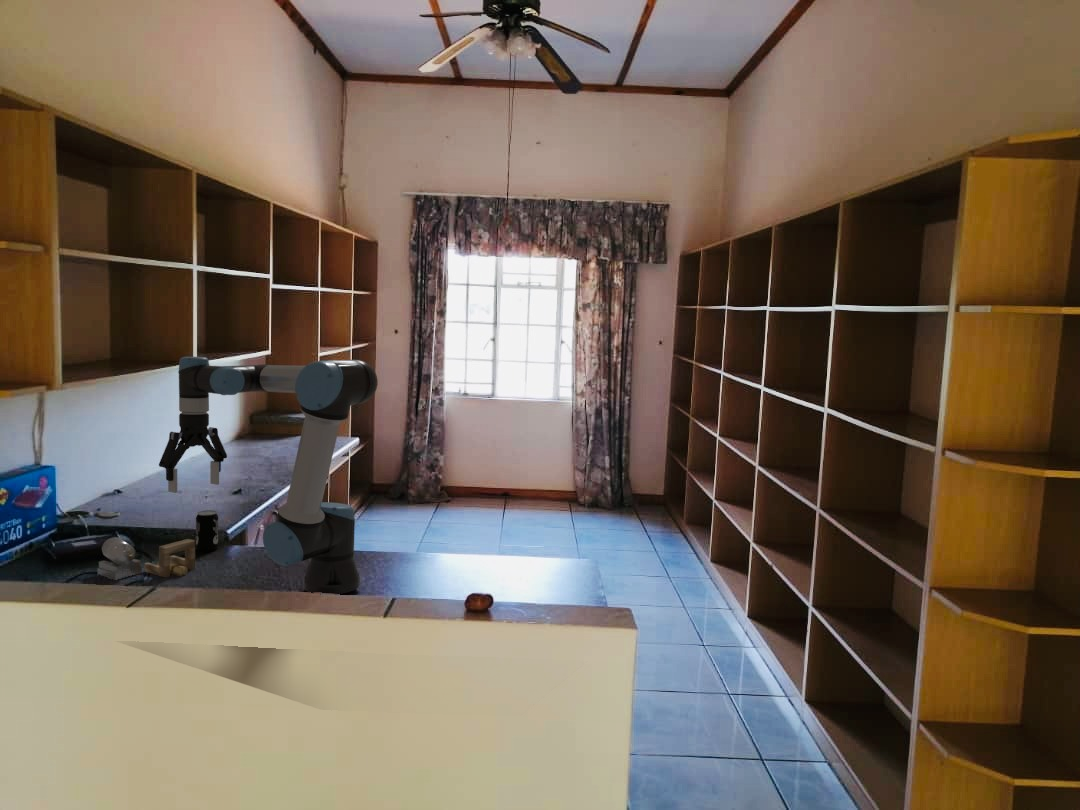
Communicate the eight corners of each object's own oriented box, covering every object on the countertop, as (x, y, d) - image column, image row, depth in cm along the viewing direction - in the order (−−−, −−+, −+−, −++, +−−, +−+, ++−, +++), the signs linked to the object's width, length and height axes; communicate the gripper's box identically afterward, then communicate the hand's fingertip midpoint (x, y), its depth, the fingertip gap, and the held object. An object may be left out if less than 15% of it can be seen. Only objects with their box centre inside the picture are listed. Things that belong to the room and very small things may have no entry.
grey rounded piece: (134, 564, 218) (136, 543, 218) (111, 566, 214) (113, 545, 214) (123, 556, 224) (125, 536, 224) (100, 558, 220) (102, 538, 220)
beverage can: (210, 552, 242) (209, 515, 241) (191, 550, 244) (191, 513, 243) (222, 547, 249) (222, 511, 248) (204, 545, 250) (204, 509, 249)
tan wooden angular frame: (195, 568, 227) (194, 540, 226) (166, 577, 218) (165, 548, 217) (173, 563, 231) (173, 535, 230) (144, 571, 223) (144, 542, 222)
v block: (141, 572, 221) (141, 560, 221) (115, 580, 214) (115, 567, 214) (124, 567, 225) (123, 555, 225) (97, 575, 218) (97, 562, 217)
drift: (189, 569, 222) (182, 565, 220) (184, 578, 221) (177, 574, 219) (165, 563, 226) (158, 559, 224) (160, 572, 225) (153, 568, 223)
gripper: (222, 408, 225) (222, 479, 227) (143, 415, 203) (144, 493, 205) (240, 410, 221) (239, 482, 223) (162, 417, 199) (163, 497, 201)
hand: (194, 488), depth 214 cm, fingers open, 13 cm apart
